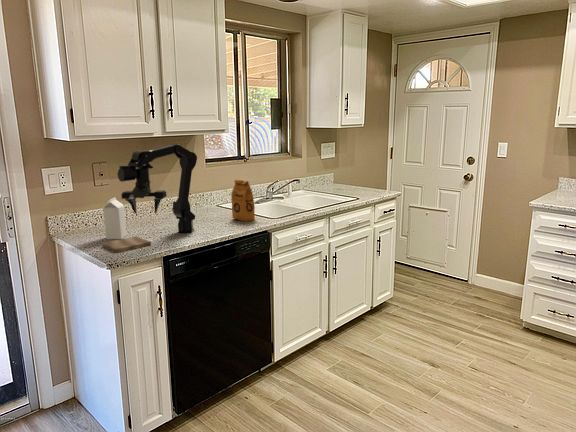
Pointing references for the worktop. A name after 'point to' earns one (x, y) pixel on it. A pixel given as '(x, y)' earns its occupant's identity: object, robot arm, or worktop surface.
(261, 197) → the worktop surface
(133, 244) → the cutting board
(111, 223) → the milk carton
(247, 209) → the coffee package
